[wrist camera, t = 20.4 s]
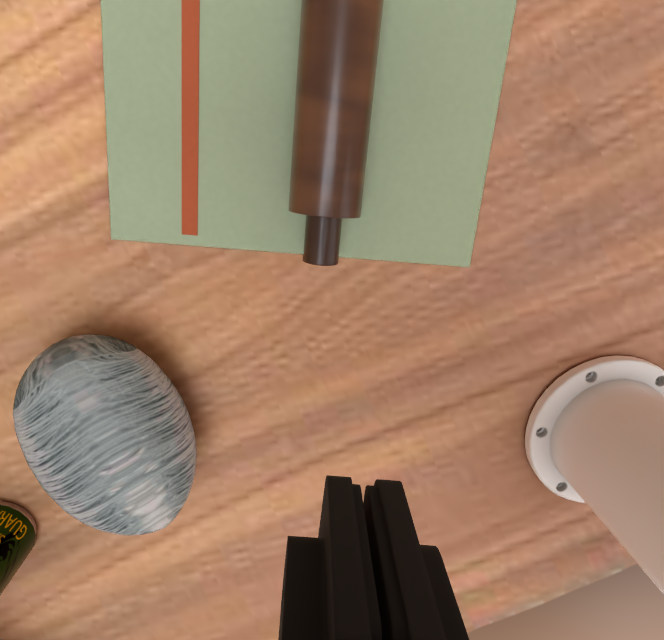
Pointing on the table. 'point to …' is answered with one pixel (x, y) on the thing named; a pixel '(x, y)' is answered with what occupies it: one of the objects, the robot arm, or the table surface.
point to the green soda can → (14, 539)
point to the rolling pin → (332, 118)
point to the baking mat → (278, 124)
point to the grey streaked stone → (106, 434)
